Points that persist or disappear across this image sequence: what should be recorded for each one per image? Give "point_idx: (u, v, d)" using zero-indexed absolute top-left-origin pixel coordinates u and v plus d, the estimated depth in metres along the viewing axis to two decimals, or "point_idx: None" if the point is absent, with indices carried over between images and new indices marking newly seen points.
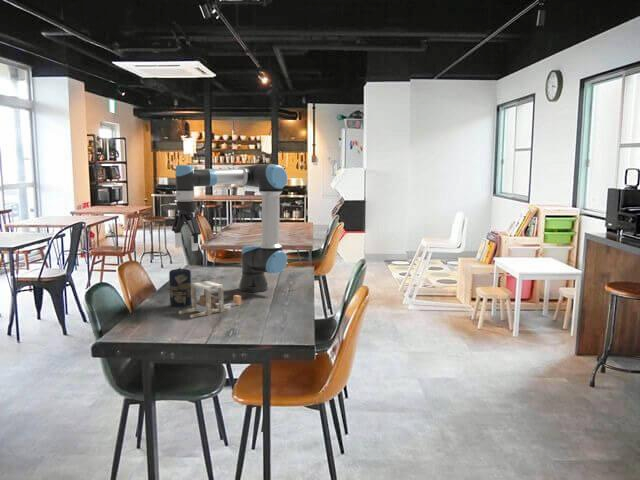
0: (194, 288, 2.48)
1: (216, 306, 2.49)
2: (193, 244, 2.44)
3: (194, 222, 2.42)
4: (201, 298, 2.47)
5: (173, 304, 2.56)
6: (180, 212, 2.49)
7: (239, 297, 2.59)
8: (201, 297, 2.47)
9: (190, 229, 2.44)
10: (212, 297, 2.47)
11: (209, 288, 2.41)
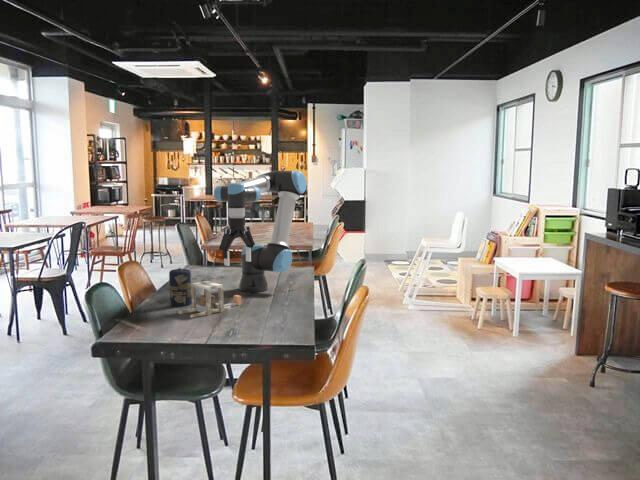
0: (194, 288, 2.48)
1: (216, 306, 2.49)
2: (224, 259, 2.55)
3: (223, 238, 2.53)
4: (201, 298, 2.47)
5: (173, 304, 2.56)
6: None
7: (239, 297, 2.59)
8: (201, 297, 2.47)
9: None
10: (212, 297, 2.47)
11: (209, 288, 2.41)
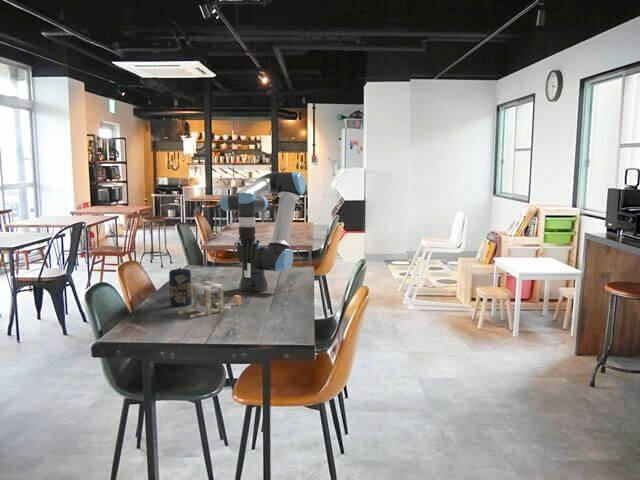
0: (194, 288, 2.48)
1: (216, 306, 2.49)
2: (244, 271, 2.62)
3: (238, 251, 2.58)
4: (201, 298, 2.47)
5: (173, 304, 2.56)
6: None
7: (239, 297, 2.59)
8: (201, 297, 2.47)
9: None
10: (212, 297, 2.47)
11: (209, 288, 2.41)
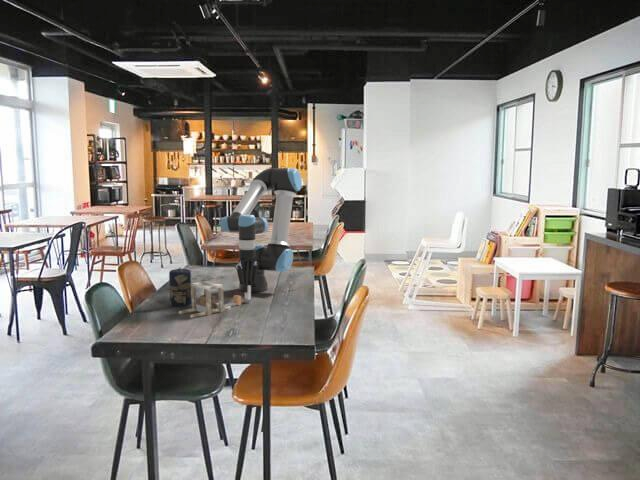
0: (194, 288, 2.48)
1: (216, 306, 2.49)
2: (245, 293, 2.64)
3: (238, 274, 2.60)
4: (201, 298, 2.47)
5: (173, 304, 2.56)
6: None
7: (239, 297, 2.59)
8: (201, 297, 2.47)
9: None
10: (212, 297, 2.47)
11: (209, 288, 2.41)
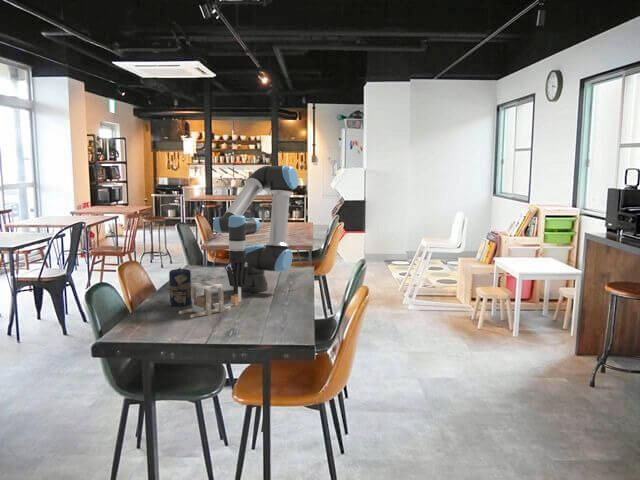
0: (194, 288, 2.48)
1: (213, 307, 2.48)
2: (235, 294, 2.60)
3: (228, 275, 2.55)
4: (198, 299, 2.46)
5: (173, 304, 2.56)
6: None
7: (236, 298, 2.58)
8: (198, 298, 2.46)
9: None
10: None
11: (209, 288, 2.41)
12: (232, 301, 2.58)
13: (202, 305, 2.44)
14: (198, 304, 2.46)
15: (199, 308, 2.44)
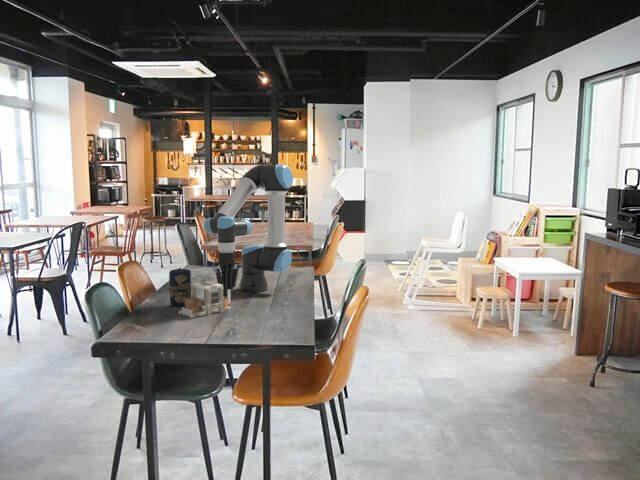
0: (194, 288, 2.48)
1: (202, 309, 2.43)
2: (225, 297, 2.56)
3: (217, 277, 2.51)
4: (187, 301, 2.42)
5: (173, 304, 2.56)
6: None
7: (226, 300, 2.53)
8: (187, 300, 2.42)
9: None
10: (198, 300, 2.41)
11: (209, 288, 2.41)
12: None
13: (190, 307, 2.40)
14: (186, 306, 2.42)
15: (187, 310, 2.40)
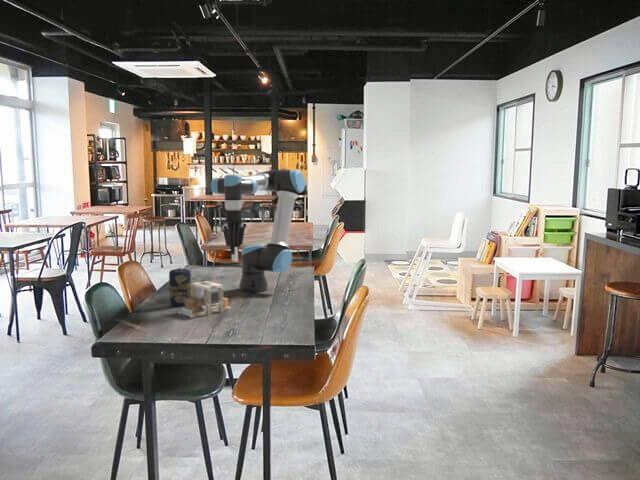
0: (194, 288, 2.48)
1: (202, 309, 2.43)
2: (232, 255, 2.59)
3: (224, 235, 2.54)
4: (187, 301, 2.42)
5: (173, 304, 2.56)
6: None
7: (226, 300, 2.53)
8: (187, 300, 2.42)
9: None
10: (198, 300, 2.41)
11: (209, 288, 2.41)
12: None
13: (190, 307, 2.40)
14: (186, 306, 2.42)
15: (187, 310, 2.40)
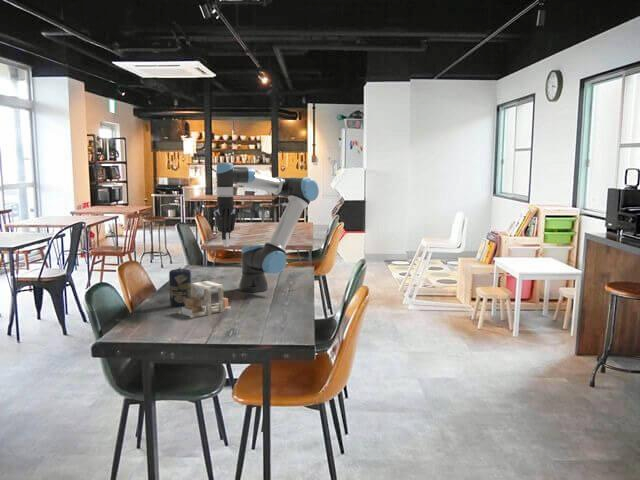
0: (194, 288, 2.48)
1: (202, 309, 2.43)
2: (223, 240, 2.67)
3: (216, 221, 2.63)
4: (187, 301, 2.42)
5: (173, 304, 2.56)
6: None
7: (226, 300, 2.53)
8: (187, 300, 2.42)
9: None
10: (198, 300, 2.41)
11: (209, 288, 2.41)
12: None
13: (190, 307, 2.40)
14: (186, 306, 2.42)
15: (187, 310, 2.40)
